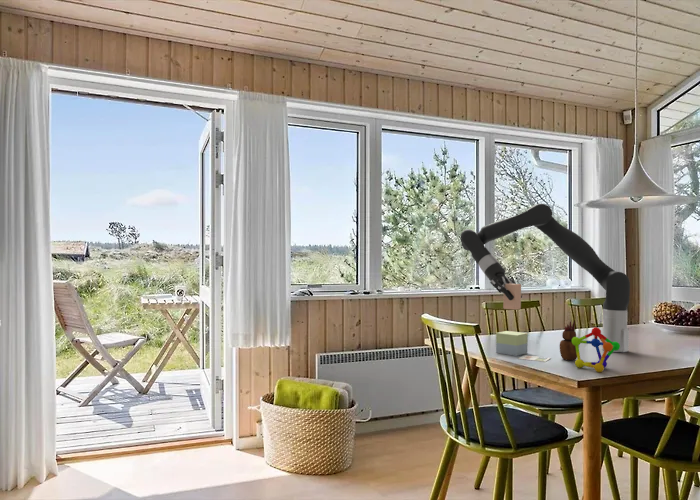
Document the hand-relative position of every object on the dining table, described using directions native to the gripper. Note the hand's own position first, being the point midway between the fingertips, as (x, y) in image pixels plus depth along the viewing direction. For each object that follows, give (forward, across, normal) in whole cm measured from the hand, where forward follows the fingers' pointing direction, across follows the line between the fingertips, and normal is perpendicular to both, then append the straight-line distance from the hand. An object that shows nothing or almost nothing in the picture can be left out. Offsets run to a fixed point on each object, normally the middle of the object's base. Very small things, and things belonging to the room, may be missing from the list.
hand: (516, 298), depth 223 cm
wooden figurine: (+30, +5, +2) cm, 30 cm away
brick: (+2, 0, +4) cm, 5 cm away
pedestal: (+14, 0, +17) cm, 22 cm away
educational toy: (+40, -3, -8) cm, 40 cm away
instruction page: (+23, -4, +8) cm, 25 cm away
